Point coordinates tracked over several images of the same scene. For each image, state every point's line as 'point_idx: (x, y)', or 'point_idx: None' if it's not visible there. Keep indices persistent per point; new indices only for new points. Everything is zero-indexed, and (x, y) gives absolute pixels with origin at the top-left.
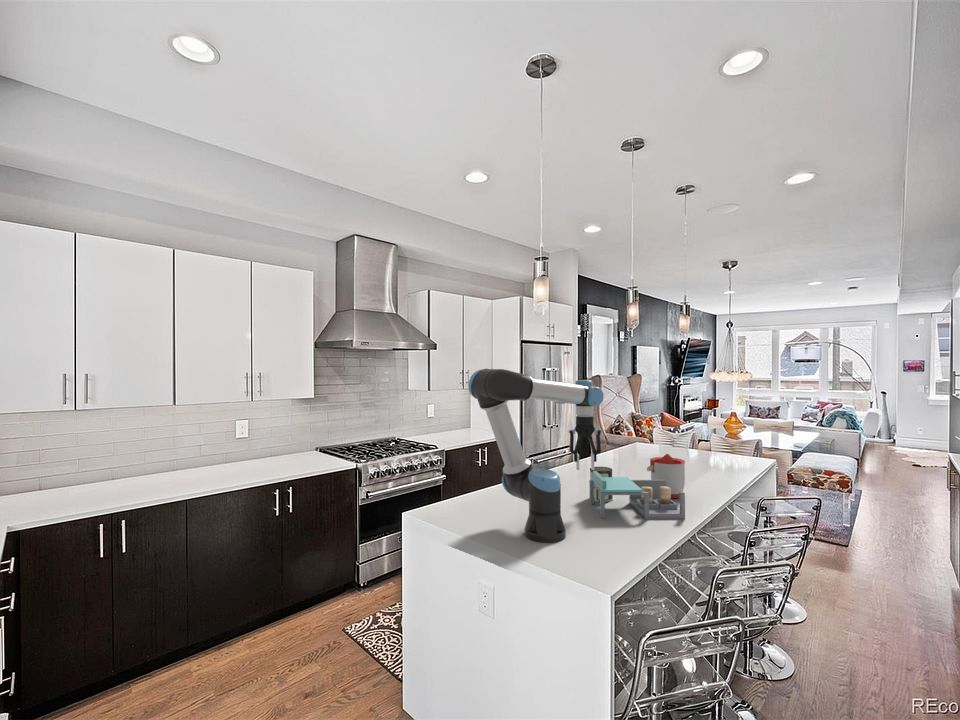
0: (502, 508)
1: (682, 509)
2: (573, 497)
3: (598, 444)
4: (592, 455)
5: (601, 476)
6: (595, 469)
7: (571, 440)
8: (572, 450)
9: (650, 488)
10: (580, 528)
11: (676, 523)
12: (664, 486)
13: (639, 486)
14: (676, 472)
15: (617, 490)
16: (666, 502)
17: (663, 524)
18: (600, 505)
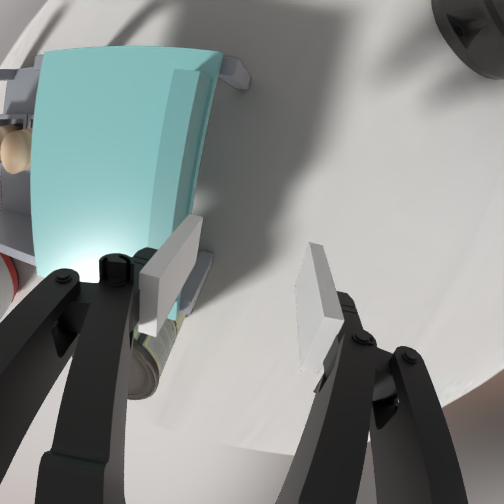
0: (492, 280)
1: (4, 69)
2: (241, 333)
3: (16, 335)
4: (160, 274)
5: (155, 191)
6: (135, 372)
7: (457, 479)
8: (407, 368)
9: (6, 141)
10: (368, 17)
11: (52, 30)
12: None
13: (26, 239)
14: None
15: (145, 46)
16: (9, 125)
17: (84, 18)
18: (243, 78)
